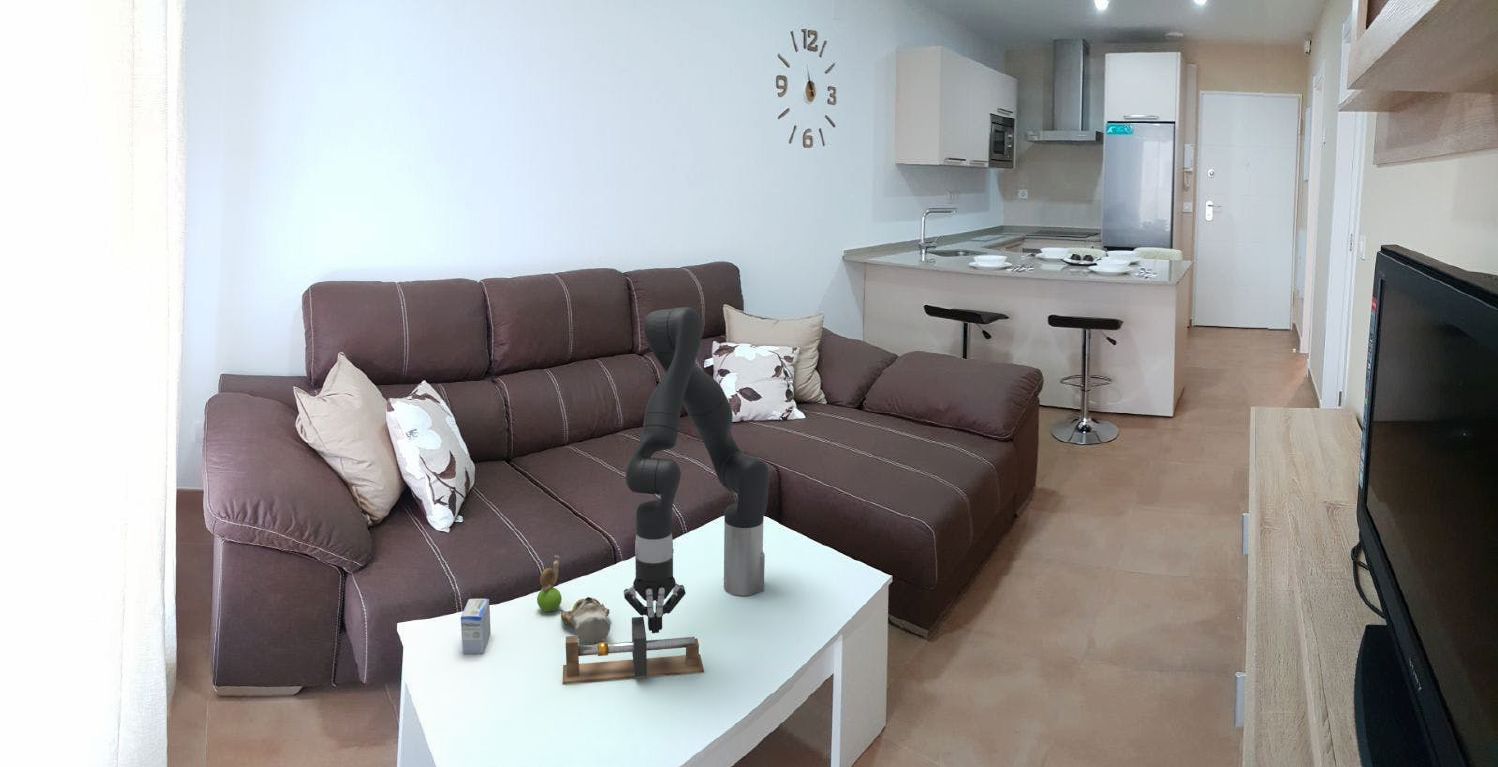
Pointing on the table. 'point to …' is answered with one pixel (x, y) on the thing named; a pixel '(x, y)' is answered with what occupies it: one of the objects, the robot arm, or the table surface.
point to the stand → (627, 665)
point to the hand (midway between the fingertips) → (654, 631)
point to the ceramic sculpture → (588, 620)
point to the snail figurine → (549, 589)
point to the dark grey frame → (639, 646)
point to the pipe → (623, 647)
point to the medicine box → (475, 626)
